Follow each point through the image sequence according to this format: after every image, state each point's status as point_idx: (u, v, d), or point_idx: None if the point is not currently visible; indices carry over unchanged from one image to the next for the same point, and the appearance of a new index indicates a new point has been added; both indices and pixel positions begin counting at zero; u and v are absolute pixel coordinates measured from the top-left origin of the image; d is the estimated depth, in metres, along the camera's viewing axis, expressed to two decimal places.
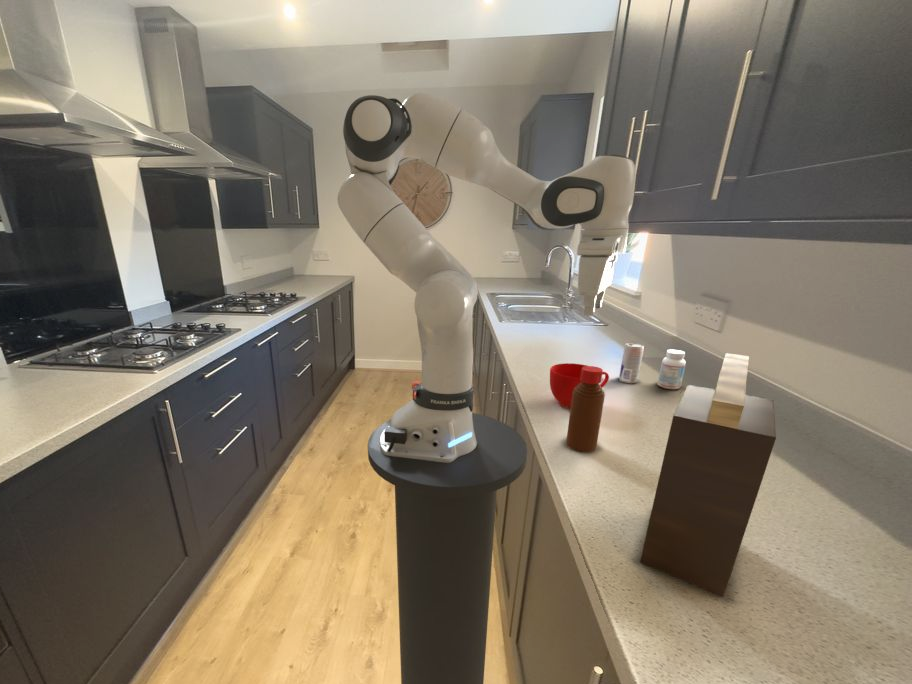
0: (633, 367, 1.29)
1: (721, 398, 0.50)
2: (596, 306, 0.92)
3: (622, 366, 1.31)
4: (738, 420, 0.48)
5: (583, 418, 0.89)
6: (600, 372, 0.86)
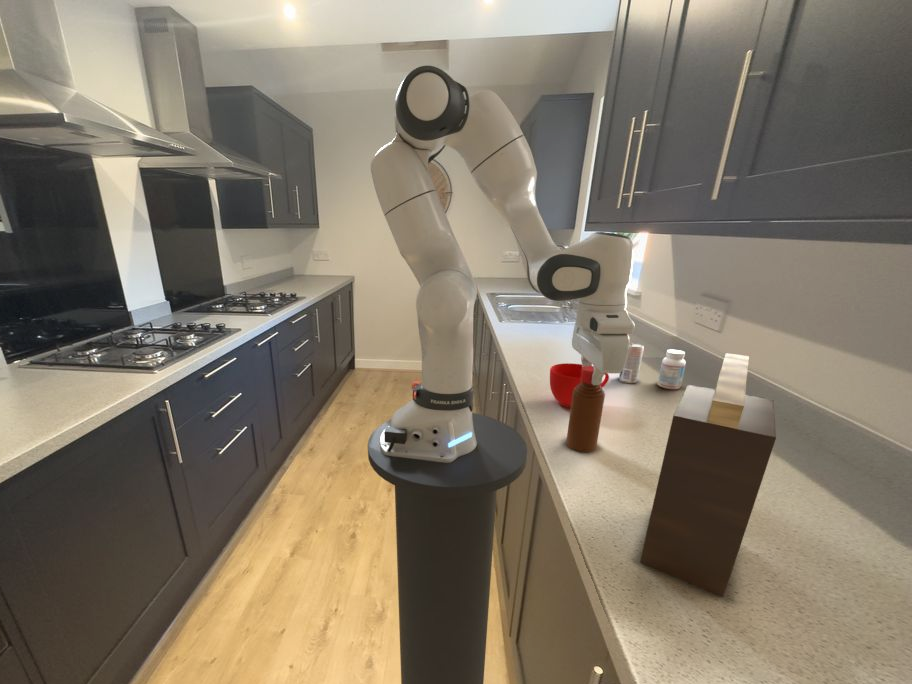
0: (633, 366, 1.29)
1: (721, 398, 0.50)
2: None
3: None
4: (738, 420, 0.48)
5: (583, 418, 0.89)
6: None
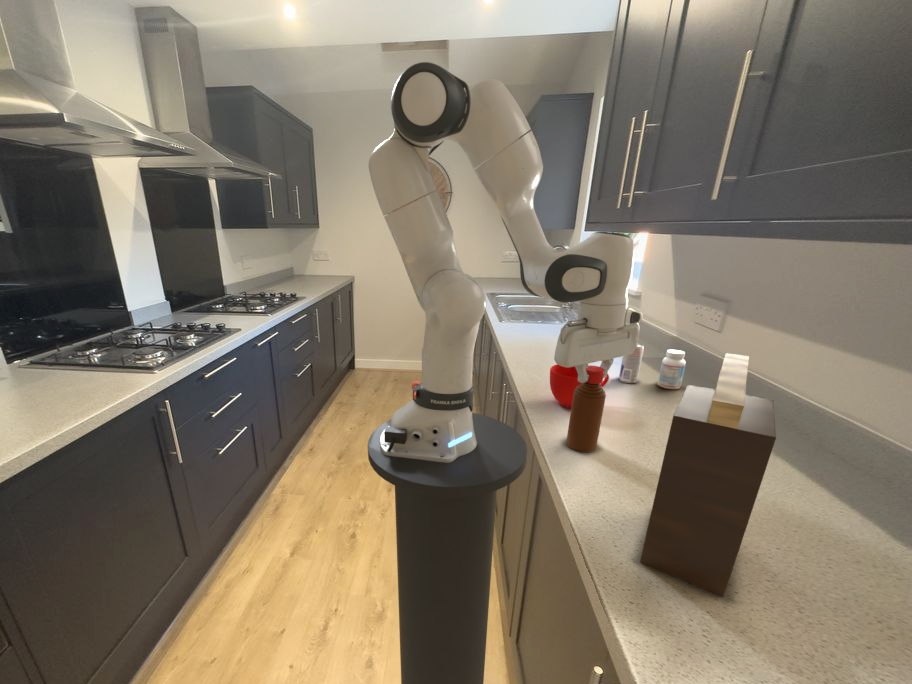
0: (633, 367, 1.29)
1: (721, 398, 0.50)
2: None
3: (622, 366, 1.31)
4: (738, 420, 0.48)
5: (583, 418, 0.89)
6: None
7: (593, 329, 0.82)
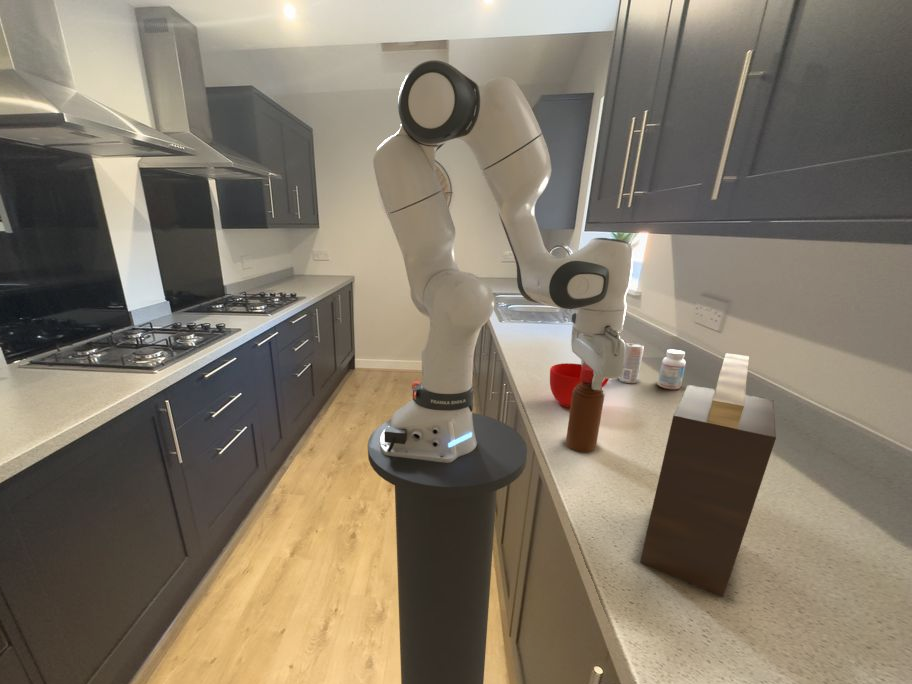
0: (633, 367, 1.29)
1: (721, 398, 0.50)
2: None
3: None
4: (738, 420, 0.48)
5: (582, 418, 0.89)
6: None
7: None
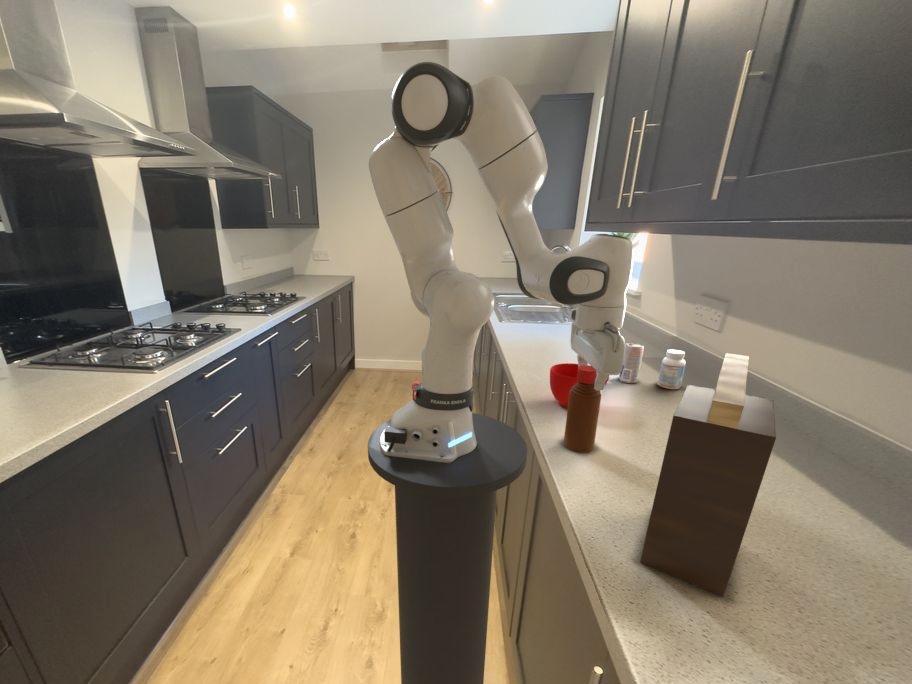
0: (633, 367, 1.29)
1: (721, 398, 0.50)
2: None
3: (622, 366, 1.31)
4: (738, 420, 0.48)
5: (579, 418, 0.89)
6: None
7: None
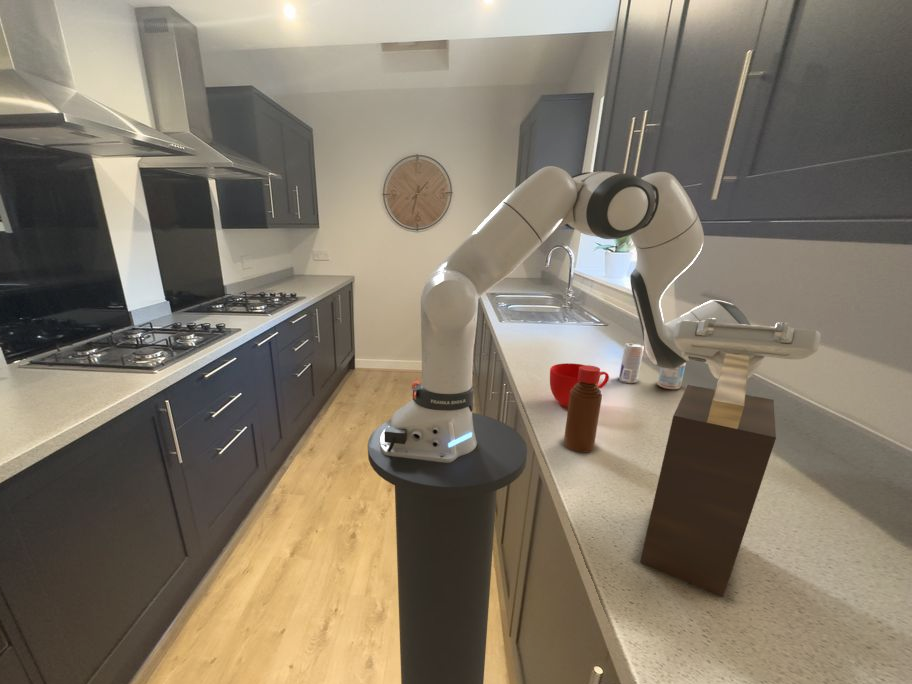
0: (633, 367, 1.29)
1: (721, 398, 0.50)
2: (776, 327, 0.67)
3: (622, 366, 1.31)
4: (738, 420, 0.48)
5: (580, 418, 0.89)
6: None
7: (761, 355, 0.76)
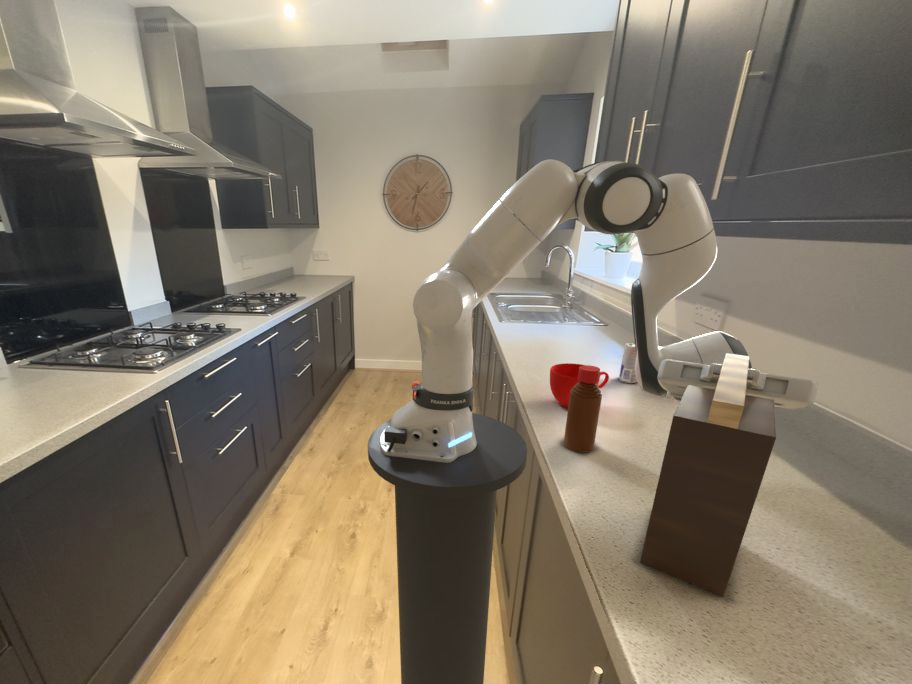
0: (633, 367, 1.29)
1: (721, 398, 0.50)
2: None
3: (622, 366, 1.31)
4: (738, 420, 0.48)
5: (580, 418, 0.89)
6: None
7: None
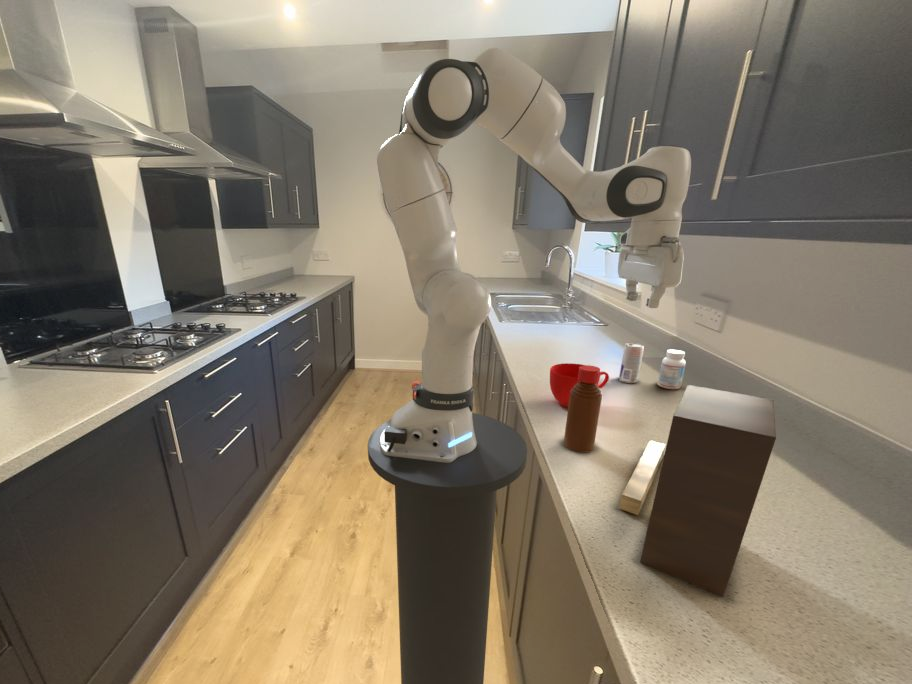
0: (633, 367, 1.29)
1: (628, 492, 0.72)
2: None
3: (622, 366, 1.31)
4: (638, 509, 0.70)
5: (580, 418, 0.89)
6: None
7: None
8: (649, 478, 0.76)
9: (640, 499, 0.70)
